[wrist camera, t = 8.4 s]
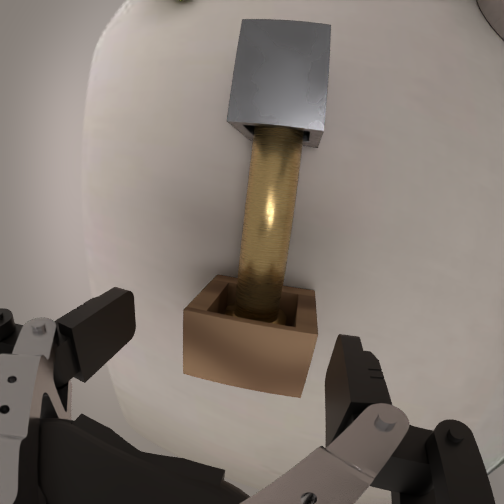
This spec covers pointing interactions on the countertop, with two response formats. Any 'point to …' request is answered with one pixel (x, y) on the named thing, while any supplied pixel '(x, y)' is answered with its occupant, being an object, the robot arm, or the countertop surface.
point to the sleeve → (281, 77)
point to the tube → (267, 224)
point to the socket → (249, 341)
